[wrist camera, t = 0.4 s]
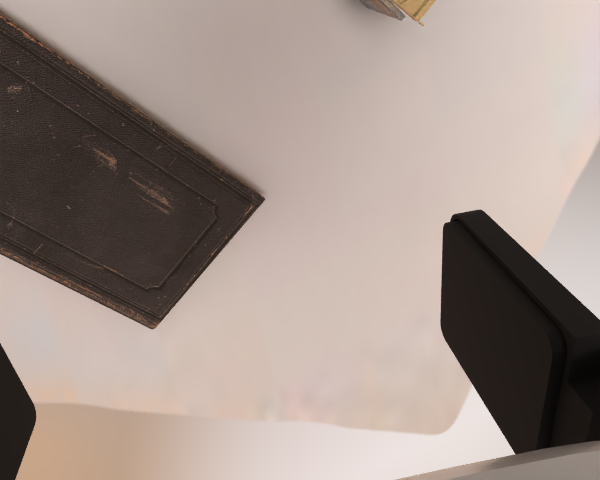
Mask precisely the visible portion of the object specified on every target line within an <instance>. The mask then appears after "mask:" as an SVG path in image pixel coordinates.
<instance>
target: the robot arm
mask: <svg viewBox="0 0 600 480" xmlns="http://www.w3.org/2000/svg"><path fill="white" fill-rule="evenodd" d="M441 330H442V333H443V336H444V338H445V340H446V342H447V344H448V345H449V347H450V349H451V350H452V352H453V353H454V355H455V357H456V358H457V360H458V362H459V363H460V365H461V366H462V368H463V370H464V371H465V373H466V375H467V376H468V378H469V379H470V381H471V383H472V384H473V386H474V387H475V389H476V391H477V392H478V394H479V396H480V397H481V399H482V400H483V402H484V404H485V405H486V407H487V408H488V410H489V412H490V413H491V415H492V417H493V418H494V420H495V422H496V423H497V425H498V426H499V428H500V430H501V431H502V433H503V435H504V436H505V438H506V439H507V441H508V443H509V444H510V446H511V447H512V449H513V451H514V452H515V454H516V455H511V456H506V457H501V458H496V459H491V460H486V461H481V462H476V463H471V464H466V465H461V466H456V467H452V468H447V469H442V470H438V471H433V472H429V473H424V474H420V475H415V476H411V477H406V478H402V479H397V480H600V320H599V319H598V318H597V317H596V316H595V315H594V314H593V313H592V312H591V311H590V310H588V309H587V308H586V307H585V306H584V305H583V304H582V303H581V302H580V301H579V300H578V299H577V298H576V297H575V296H574V295H572V294H571V293H570V292H569V291H568V290H567V289H566V288H565V287H564V286H563V285H562V284H561V283H560V282H559V281H558V280H556V279H555V278H554V277H553V276H552V275H551V274H550V273H549V272H548V271H547V270H546V269H544V268H543V266H542V265H541V264H539V263H538V262H537V261H536V260H535V259H534V258H533V257H532V256H531V255H530V254H529V253H528V252H527V251H526V250H525V249H523V248H522V247H521V246H520V245H519V244H518V243H517V242H516V241H515V240H514V239H513V238H512V237H511V236H510V235H509V234H507V233H506V232H505V231H504V230H503V229H502V228H501V227H500V226H499V225H498V224H497V223H496V222H495V221H494V220H493V219H491V218H490V217H489V216H488V215H487V214H486V213H485V212H484V211H482V210H475V211H469V212H464V213H458V214H454V215H453V216H452V218H451V221H450V222H447V223H445V224H444V227H443V249H442V287H441ZM35 422H36V411H35V407H34V404H33V402H32V400H31V399H30V397H29V395H28V393H27V391H26V389H25V388H24V386H23V384H22V382H21V380H20V378H19V377H18V375H17V373H16V371H15V369H14V368H13V366H12V364H11V362H10V360H9V358H8V357H7V355H6V353H5V351H4V349H3V347H2V346H1V344H0V480H15V479H16V476H17V473H18V470H19V467H20V465H21V462H22V459H23V456H24V454H25V451H26V448H27V445H28V442H29V440H30V437H31V434H32V431H33V428H34V426H35Z"/></svg>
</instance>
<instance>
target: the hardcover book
mask: <svg viewBox="0 0 600 480" xmlns="http://www.w3.org/2000/svg"><path fill="white" fill-rule="evenodd" d="M264 200H265V198H264V197H262V196H261V195H260V194H258V193H257V192H256V191H255V190H253V189H252V188H250V187H249V186H247V185H246V184H245V183H243V182H242V181H240V180H239V179H237V178H236V177H235V176H233V175H232V174H230V173H229V172H227V171H226V170H224V169H223V168H222V167H220V166H219V165H217V164H216V163H214V162H213V161H212V160H210V159H209V158H207V157H206V156H204V155H203V154H202V153H200V152H199V151H197V150H196V149H194V148H193V147H192V146H190V145H189V144H187V143H186V142H184V141H183V140H182V139H180V138H179V137H177V136H176V135H174V134H173V133H172V132H170V131H169V130H167V129H166V128H164V127H163V126H162V125H160V124H159V123H157V122H156V121H154V120H153V119H151V118H150V117H149V116H147V115H146V114H144V113H143V112H141V111H140V110H139V109H137V108H136V107H134V106H133V105H131V104H130V103H129V102H127V101H126V100H124V99H123V98H121V97H120V96H119V95H117V94H116V93H114V92H113V91H111V90H110V89H109V88H107V87H106V86H104V85H103V84H101V83H100V82H99V81H97V80H96V79H94V78H93V77H91V76H90V75H88V74H87V73H86V72H84V71H83V70H81V69H80V68H78V67H77V66H76V65H74V64H73V63H71V62H70V61H68V60H67V59H66V58H64V57H63V56H61V55H60V54H58V53H57V52H56V51H54V50H53V49H51V48H50V47H48V46H47V45H46V44H44V43H43V42H41V41H40V40H38V39H37V38H36V37H34V36H33V35H31V34H30V33H28V32H27V31H25V30H24V29H23V28H21V27H20V26H18V25H17V24H15V23H14V22H13V21H11V20H10V19H8V18H7V17H5V16H4V15H3V14H1V13H0V254H1V255H3V256H5V257H7V258H9V259H11V260H13V261H16V262H18V263H20V264H22V265H24V266H26V267H28V268H30V269H32V270H34V271H36V272H38V273H40V274H42V275H44V276H46V277H48V278H50V279H52V280H54V281H56V282H58V283H60V284H62V285H64V286H66V287H68V288H70V289H72V290H74V291H76V292H78V293H80V294H82V295H84V296H86V297H88V298H90V299H92V300H94V301H96V302H98V303H100V304H102V305H104V306H106V307H108V308H110V309H112V310H114V311H116V312H118V313H120V314H122V315H124V316H126V317H128V318H130V319H132V320H134V321H136V322H138V323H140V324H142V325H144V326H146V327H148V328H150V329H155V328H156V327H157V326H158V324H159V323H160V322H161V321H162V320H163V319H164V317H165V316H166V315H167V314H168V313H169V312H170V310H171V309H172V308H173V307H174V306H175V305H176V303H177V302H178V301H179V300H180V299H181V298H182V296H183V295H184V294H185V293H186V292H187V290H188V289H189V288H190V287H191V286H192V285H193V283H194V282H195V281H196V280H197V279H198V278H199V276H200V275H201V274H202V273H203V272H204V271H205V269H206V268H207V267H208V266H209V265H210V264H211V262H212V261H213V260H214V259H215V258H216V257H217V255H218V254H219V253H220V252H221V251H222V249H223V248H224V247H225V246H226V245H227V244H228V242H229V241H230V240H231V239H232V238H233V237H234V235H235V234H236V233H237V232H238V231H239V230H240V228H241V227H242V226H243V225H244V224H245V223H246V221H247V220H248V219H249V218H250V217H251V216H252V214H253V213H254V212H255V211H256V210H257V208H258V207H259V206H260V205H261V204H262V203H263V201H264Z"/></svg>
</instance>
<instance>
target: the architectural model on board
mask: <svg viewBox="0 0 600 480" xmlns="http://www.w3.org/2000/svg"><path fill="white" fill-rule="evenodd" d="M360 1H361V2H362V3H363V4H364V5H365V6H366V7H367V8H369V9H371V10H374V11H377V12H380V13H382V14H385V15H388V16H391V17H393V18H396V19H399V20H403V19H404V18H405V15H404V14H403V13H402V12H401V11H400V10H399V9H397V8H396V7H395V6H394V5H393V4H392V3H391V2H390V1H389V0H360ZM391 1H392V2H394V3H395V4H396V5H397V6H398V7H399V8H401V9H402V10H403V11H404V12H405V13H406V14H408V15H409V16H410V17H411V18H412V19H413V20H415V21H418V22H419V23H420V24H421V25H422V26H424V24H422V23H421V22H420V21H419V20H420V19H421V18H422V17H423V15H424V14H425V13H426V12H427V10H428V9H429V8H430V7H431V5H432V4H433V3H434V2H435V0H391Z"/></svg>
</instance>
